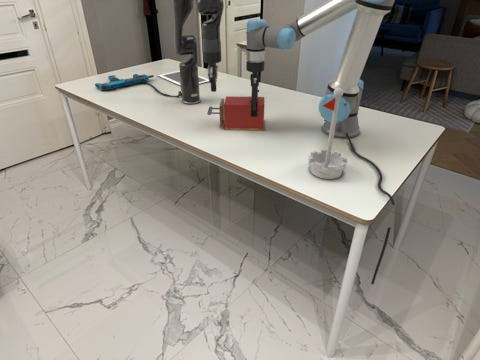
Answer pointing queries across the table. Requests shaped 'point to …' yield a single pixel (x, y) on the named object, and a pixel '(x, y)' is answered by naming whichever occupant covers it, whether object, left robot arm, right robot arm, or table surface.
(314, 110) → the table surface
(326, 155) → the flag stand
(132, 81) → the submachine gun
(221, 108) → the drawer
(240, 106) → the cabinet
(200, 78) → the tablet
